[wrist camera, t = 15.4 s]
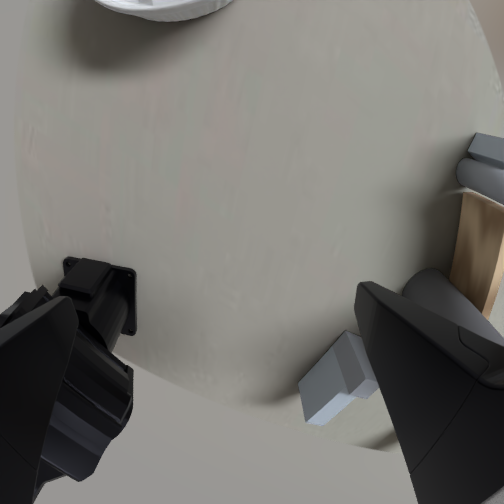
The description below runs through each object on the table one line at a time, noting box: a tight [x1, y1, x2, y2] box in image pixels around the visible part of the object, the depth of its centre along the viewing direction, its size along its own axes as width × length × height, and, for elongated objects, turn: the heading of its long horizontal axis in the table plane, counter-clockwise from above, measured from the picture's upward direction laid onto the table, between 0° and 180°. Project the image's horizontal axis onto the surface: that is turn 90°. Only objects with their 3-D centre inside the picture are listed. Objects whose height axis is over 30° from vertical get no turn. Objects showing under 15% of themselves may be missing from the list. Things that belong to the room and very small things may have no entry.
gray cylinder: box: [402, 269, 504, 346], centre depth 19 cm, size 5×5×12 cm
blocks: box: [298, 133, 504, 426], centre depth 21 cm, size 28×2×6 cm, turn 151°
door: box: [449, 192, 504, 320], centre depth 21 cm, size 14×2×6 cm, turn 5°
